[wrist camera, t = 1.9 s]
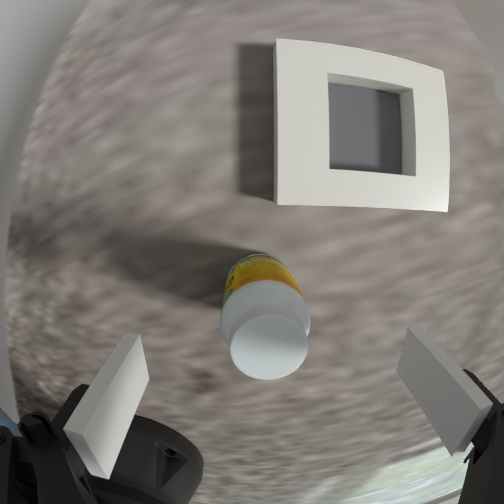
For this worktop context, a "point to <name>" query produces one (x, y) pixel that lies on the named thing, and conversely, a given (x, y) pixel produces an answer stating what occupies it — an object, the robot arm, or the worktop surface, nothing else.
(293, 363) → the supplement bottle
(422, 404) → the robot arm
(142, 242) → the worktop surface
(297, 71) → the socket block
